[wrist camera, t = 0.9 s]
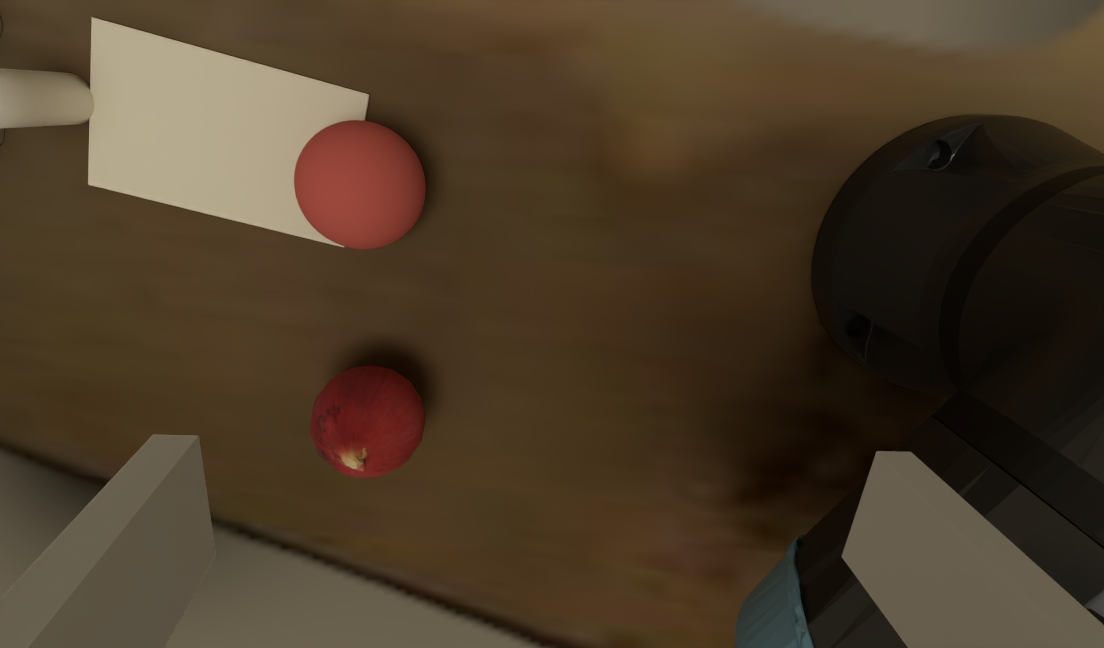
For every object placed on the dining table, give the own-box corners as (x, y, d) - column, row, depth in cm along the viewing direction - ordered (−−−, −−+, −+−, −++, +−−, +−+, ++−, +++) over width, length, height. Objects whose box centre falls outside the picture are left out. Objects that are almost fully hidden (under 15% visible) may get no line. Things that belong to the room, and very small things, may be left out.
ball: (444, 136, 32) (427, 144, 26) (421, 247, 34) (401, 277, 28) (326, 104, 31) (282, 104, 25) (310, 219, 33) (265, 244, 27)
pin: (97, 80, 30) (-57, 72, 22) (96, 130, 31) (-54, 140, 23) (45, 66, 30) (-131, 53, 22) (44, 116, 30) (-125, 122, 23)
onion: (348, 439, 37) (303, 524, 30) (322, 353, 35) (267, 421, 28) (442, 424, 37) (422, 506, 30) (421, 337, 35) (394, 401, 28)
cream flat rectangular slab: (369, 94, 31) (368, 94, 31) (344, 246, 33) (344, 247, 33) (94, 17, 29) (91, 17, 29) (90, 184, 32) (88, 184, 31)
